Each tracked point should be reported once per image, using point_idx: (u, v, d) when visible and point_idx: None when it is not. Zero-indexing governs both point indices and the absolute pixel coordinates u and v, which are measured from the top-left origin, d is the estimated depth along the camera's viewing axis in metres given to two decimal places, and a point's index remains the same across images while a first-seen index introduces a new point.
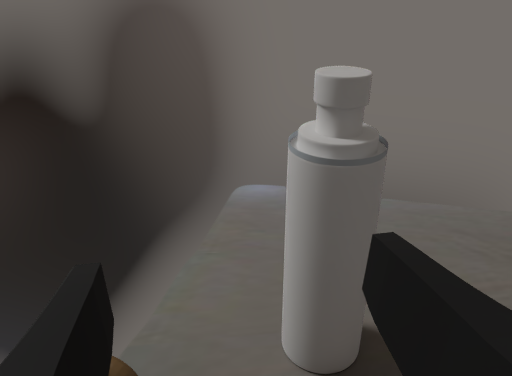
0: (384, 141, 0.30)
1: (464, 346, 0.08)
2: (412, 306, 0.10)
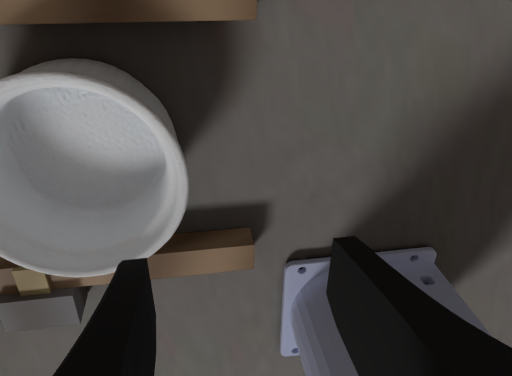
0: None
1: (411, 354, 0.08)
2: (367, 312, 0.10)
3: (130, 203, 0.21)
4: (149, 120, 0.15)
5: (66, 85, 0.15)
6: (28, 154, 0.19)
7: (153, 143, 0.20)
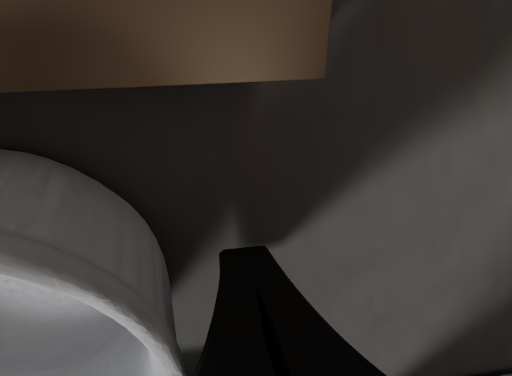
0: None
1: (283, 374, 0.08)
2: None
3: (91, 362, 0.13)
4: (105, 313, 0.07)
5: None
6: None
7: None
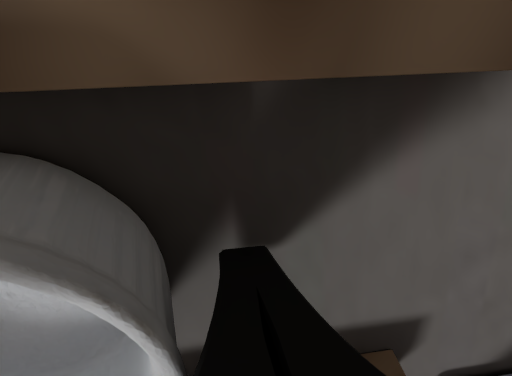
0: None
1: (283, 374, 0.08)
2: None
3: (91, 365, 0.13)
4: (104, 319, 0.07)
5: None
6: None
7: None
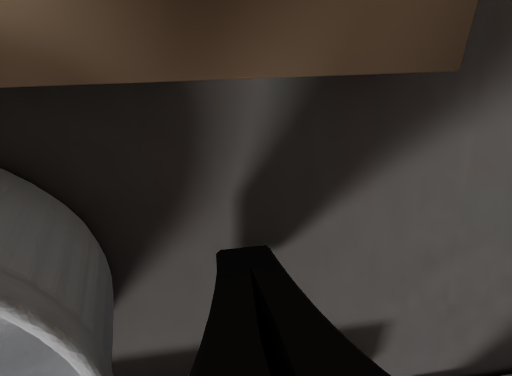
0: None
1: (286, 373, 0.08)
2: (263, 326, 0.09)
3: (37, 367, 0.12)
4: (10, 322, 0.07)
5: None
6: None
7: None
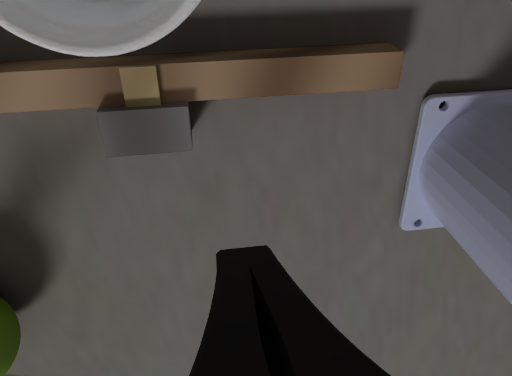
0: None
1: (286, 373, 0.08)
2: (263, 326, 0.09)
3: None
4: None
5: None
6: None
7: None
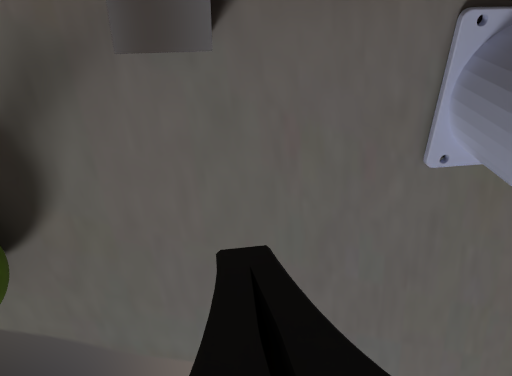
0: None
1: (286, 373, 0.08)
2: (263, 326, 0.09)
3: None
4: None
5: None
6: None
7: None
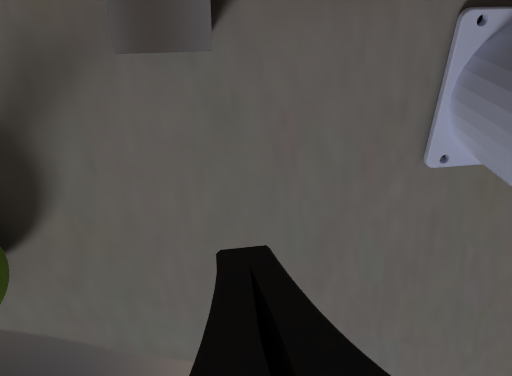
0: None
1: (286, 373, 0.08)
2: (263, 326, 0.09)
3: None
4: None
5: None
6: None
7: None
